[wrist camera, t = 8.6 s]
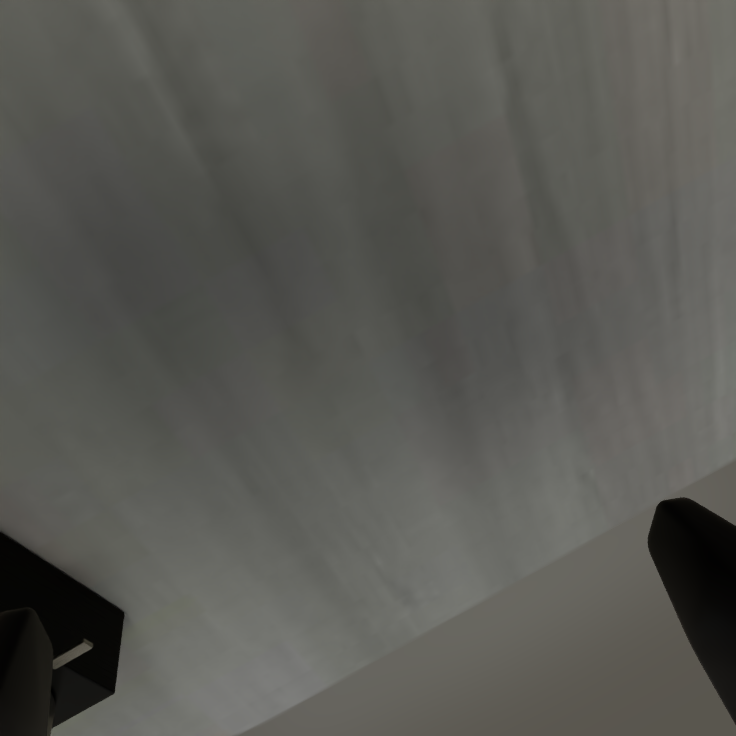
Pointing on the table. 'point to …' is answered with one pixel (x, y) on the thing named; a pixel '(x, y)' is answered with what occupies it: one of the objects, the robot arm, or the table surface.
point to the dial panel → (65, 628)
